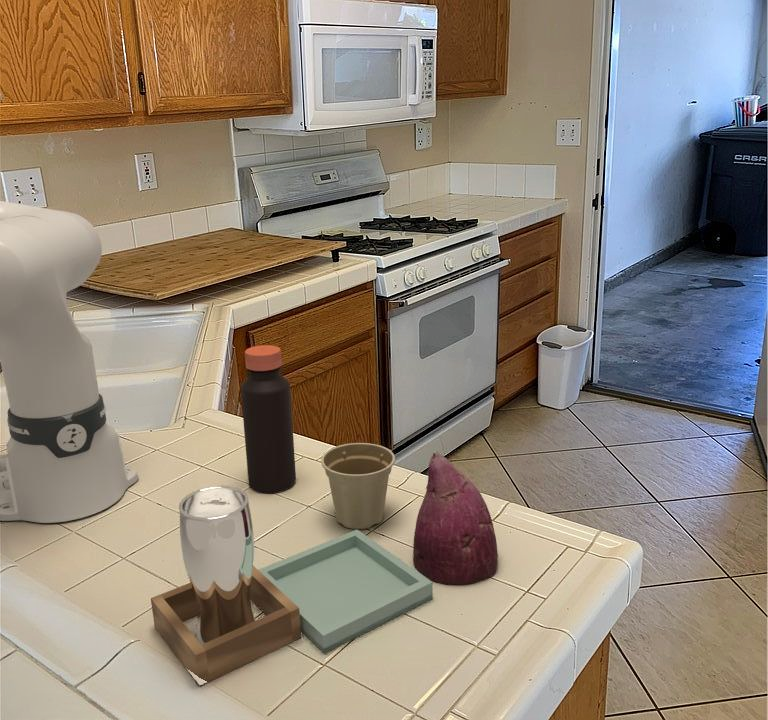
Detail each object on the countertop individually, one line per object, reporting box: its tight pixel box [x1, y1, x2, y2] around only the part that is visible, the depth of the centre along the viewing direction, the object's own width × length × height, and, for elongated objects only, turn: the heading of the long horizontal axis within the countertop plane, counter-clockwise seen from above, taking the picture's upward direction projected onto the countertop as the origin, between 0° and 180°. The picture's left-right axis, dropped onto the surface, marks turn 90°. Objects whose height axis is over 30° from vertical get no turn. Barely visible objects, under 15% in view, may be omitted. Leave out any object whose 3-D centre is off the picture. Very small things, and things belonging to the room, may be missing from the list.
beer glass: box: [178, 485, 256, 645], centre depth 75 cm, size 7×7×15 cm
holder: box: [150, 565, 302, 683], centre depth 77 cm, size 11×11×4 cm
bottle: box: [240, 344, 297, 494], centre depth 105 cm, size 7×7×20 cm
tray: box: [258, 529, 434, 655], centre depth 83 cm, size 14×14×2 cm
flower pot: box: [320, 442, 396, 530], centre depth 97 cm, size 9×9×9 cm
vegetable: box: [412, 449, 499, 586], centre depth 87 cm, size 10×10×15 cm
